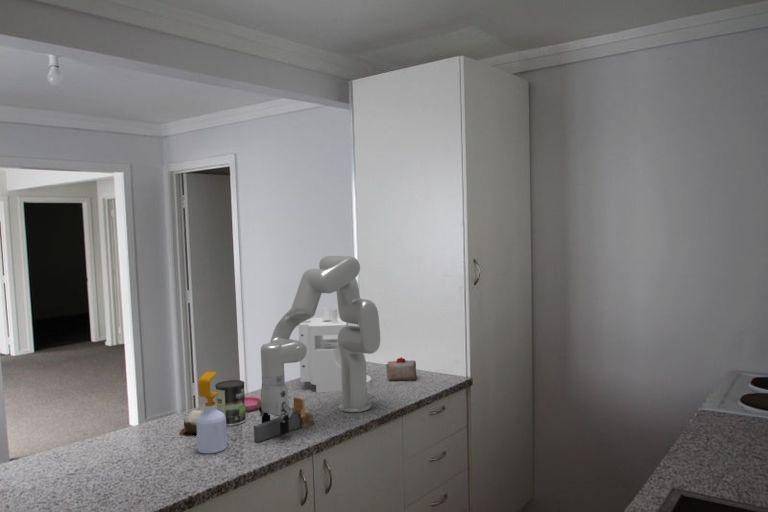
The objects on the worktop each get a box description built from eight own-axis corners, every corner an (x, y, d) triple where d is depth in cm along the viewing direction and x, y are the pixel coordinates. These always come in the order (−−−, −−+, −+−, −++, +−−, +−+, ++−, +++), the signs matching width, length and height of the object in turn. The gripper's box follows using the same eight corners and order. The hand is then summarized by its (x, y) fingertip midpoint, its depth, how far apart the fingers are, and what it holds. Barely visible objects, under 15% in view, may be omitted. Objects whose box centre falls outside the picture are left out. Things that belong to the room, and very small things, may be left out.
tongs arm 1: (295, 425, 212) (295, 411, 212) (297, 426, 212) (297, 412, 212) (254, 440, 199) (253, 425, 198) (256, 441, 198) (255, 426, 198)
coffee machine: (305, 379, 278) (301, 304, 277) (370, 376, 279) (367, 301, 277) (299, 394, 254) (295, 312, 253) (371, 390, 255) (367, 308, 253)
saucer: (267, 409, 235) (267, 401, 234) (236, 415, 228) (236, 407, 227) (254, 402, 245) (254, 394, 245) (225, 408, 238) (224, 400, 238)
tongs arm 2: (298, 426, 212) (297, 412, 211) (300, 427, 211) (299, 413, 211) (256, 441, 198) (255, 426, 198) (258, 442, 197) (257, 427, 197)
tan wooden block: (296, 413, 214) (295, 397, 214) (305, 416, 211) (304, 399, 211) (292, 415, 213) (291, 398, 212) (300, 417, 210) (300, 400, 209)
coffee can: (250, 417, 224) (249, 380, 224) (238, 426, 214) (236, 387, 214) (225, 416, 226) (223, 379, 226) (211, 425, 216) (210, 386, 216)
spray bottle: (232, 445, 196) (229, 370, 195) (216, 455, 188) (212, 377, 186) (209, 442, 199) (205, 369, 198) (191, 452, 191) (188, 376, 189)
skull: (190, 421, 219) (206, 401, 216) (209, 442, 217) (225, 422, 214) (169, 431, 207) (185, 411, 205) (189, 453, 205) (206, 433, 203)
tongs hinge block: (305, 421, 217) (305, 412, 217) (313, 424, 214) (313, 414, 214) (294, 425, 213) (294, 415, 213) (303, 428, 211) (302, 418, 210)
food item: (386, 382, 269) (385, 360, 268) (386, 377, 277) (386, 356, 276) (416, 381, 268) (416, 359, 267) (416, 377, 276) (416, 355, 275)
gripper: (298, 381, 200) (300, 432, 201) (266, 374, 212) (268, 422, 213) (281, 386, 195) (283, 438, 196) (248, 378, 206) (250, 428, 207)
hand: (275, 430), depth 204 cm, fingers open, 9 cm apart
